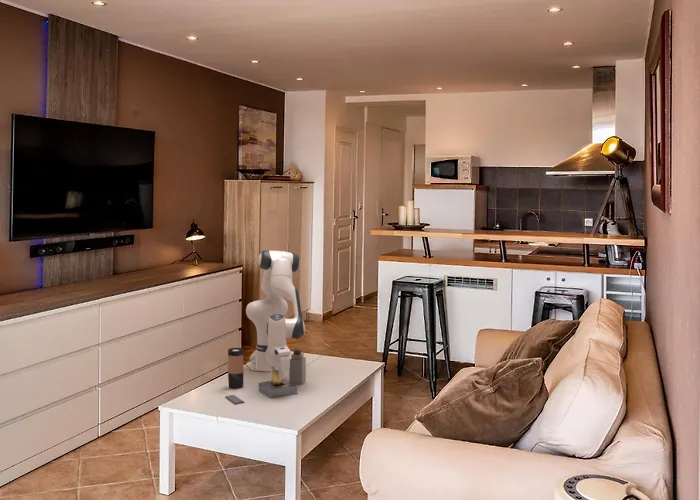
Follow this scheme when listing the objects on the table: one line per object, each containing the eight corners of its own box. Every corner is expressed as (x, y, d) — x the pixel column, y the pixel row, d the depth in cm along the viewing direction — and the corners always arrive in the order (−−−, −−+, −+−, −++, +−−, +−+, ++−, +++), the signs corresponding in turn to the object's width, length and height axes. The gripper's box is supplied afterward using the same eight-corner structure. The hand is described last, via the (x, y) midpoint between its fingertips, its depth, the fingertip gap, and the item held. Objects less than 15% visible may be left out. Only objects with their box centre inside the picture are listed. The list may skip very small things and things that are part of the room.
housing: (258, 392, 329) (258, 382, 328) (284, 388, 336) (284, 378, 336) (271, 400, 317) (271, 390, 316) (297, 395, 324) (297, 385, 324)
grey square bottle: (302, 386, 339) (302, 351, 338) (289, 385, 341) (289, 351, 339) (305, 382, 346) (305, 348, 344) (293, 382, 347) (293, 348, 346)
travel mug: (246, 387, 337) (246, 348, 336) (239, 391, 330) (238, 351, 328) (232, 385, 340) (232, 347, 338) (225, 390, 333) (224, 350, 331)
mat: (225, 397, 320) (225, 396, 320) (248, 393, 327) (248, 392, 327) (235, 404, 310) (235, 402, 310) (258, 400, 317) (258, 398, 317)
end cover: (270, 386, 327) (270, 370, 326) (279, 385, 330) (279, 369, 329) (274, 389, 323) (274, 373, 322) (284, 387, 325) (283, 371, 325)
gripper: (262, 344, 332) (262, 371, 333) (280, 353, 314) (280, 382, 316) (273, 343, 335) (273, 370, 336) (292, 351, 318) (292, 380, 319)
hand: (277, 376), depth 326 cm, fingers closed on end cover, 5 cm apart
